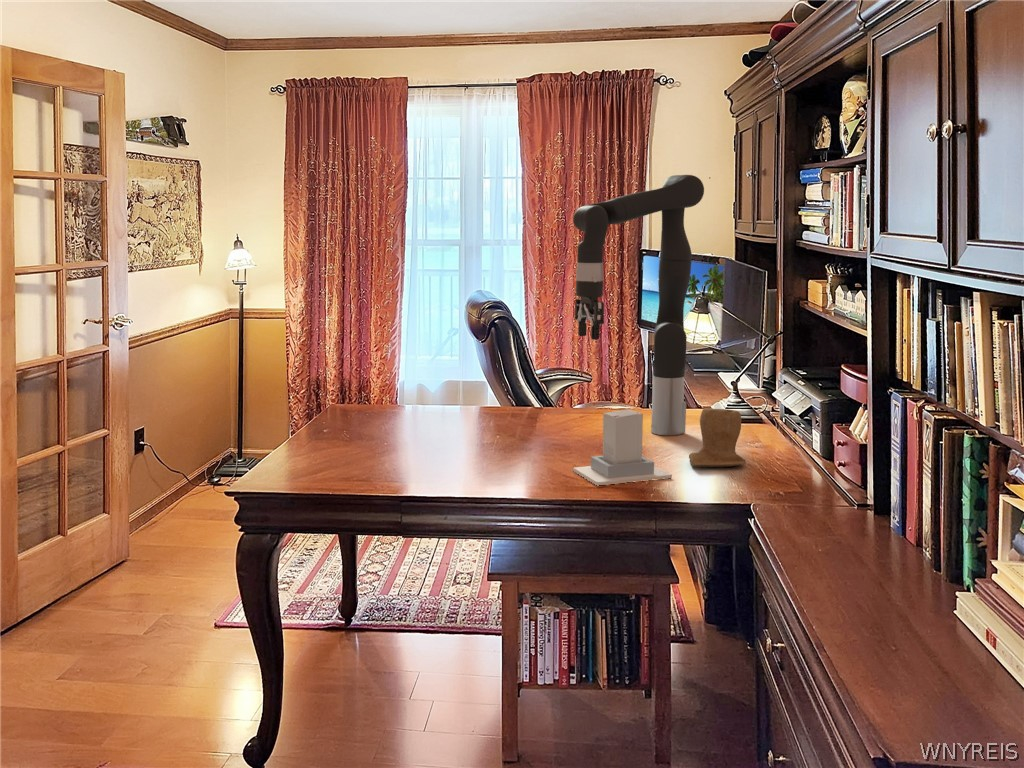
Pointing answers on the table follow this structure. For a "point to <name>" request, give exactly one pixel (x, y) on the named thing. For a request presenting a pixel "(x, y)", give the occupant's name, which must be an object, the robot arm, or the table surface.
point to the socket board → (620, 471)
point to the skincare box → (622, 437)
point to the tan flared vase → (718, 439)
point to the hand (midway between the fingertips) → (588, 337)
